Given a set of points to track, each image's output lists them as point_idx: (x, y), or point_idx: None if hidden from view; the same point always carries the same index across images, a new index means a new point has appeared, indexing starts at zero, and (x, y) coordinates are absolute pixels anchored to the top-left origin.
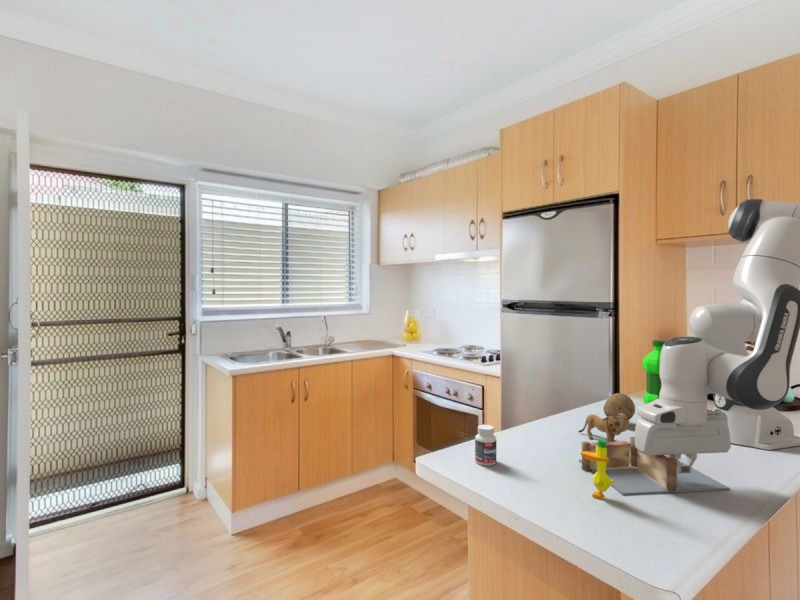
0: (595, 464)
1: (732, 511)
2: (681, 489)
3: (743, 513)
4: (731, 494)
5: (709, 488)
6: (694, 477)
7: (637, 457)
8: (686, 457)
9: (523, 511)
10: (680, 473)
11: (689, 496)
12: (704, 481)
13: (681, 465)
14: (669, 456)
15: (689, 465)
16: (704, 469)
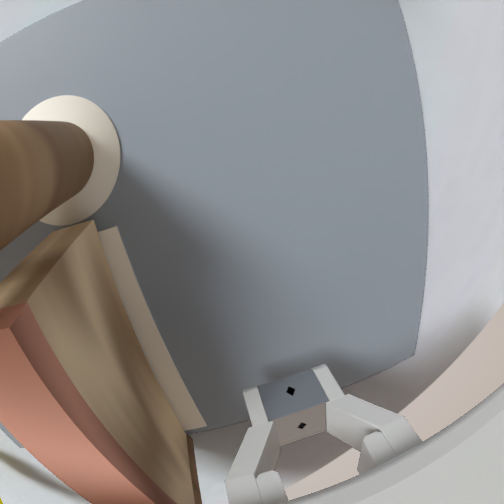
0: None
1: (304, 464)
2: (220, 422)
3: (323, 462)
4: (387, 381)
5: (343, 386)
6: (362, 291)
7: (18, 267)
8: (362, 428)
9: None
10: (323, 249)
11: (230, 437)
12: (373, 328)
13: (279, 451)
14: (228, 480)
15: (331, 430)
16: (463, 151)
